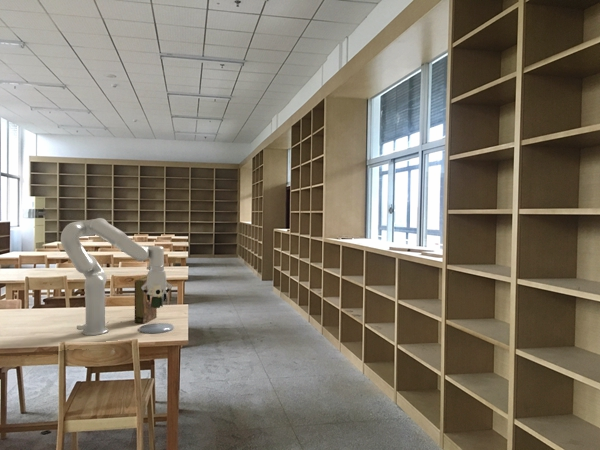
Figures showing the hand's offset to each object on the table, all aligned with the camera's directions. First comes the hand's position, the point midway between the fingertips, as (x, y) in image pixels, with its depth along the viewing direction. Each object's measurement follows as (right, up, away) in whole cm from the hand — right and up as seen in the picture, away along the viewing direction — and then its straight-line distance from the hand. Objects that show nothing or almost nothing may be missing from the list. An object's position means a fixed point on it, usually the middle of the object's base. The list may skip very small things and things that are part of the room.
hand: (156, 300), depth 259 cm
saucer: (0, -16, +1) cm, 16 cm away
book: (-12, -15, +19) cm, 27 cm away
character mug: (0, -4, 0) cm, 4 cm away
